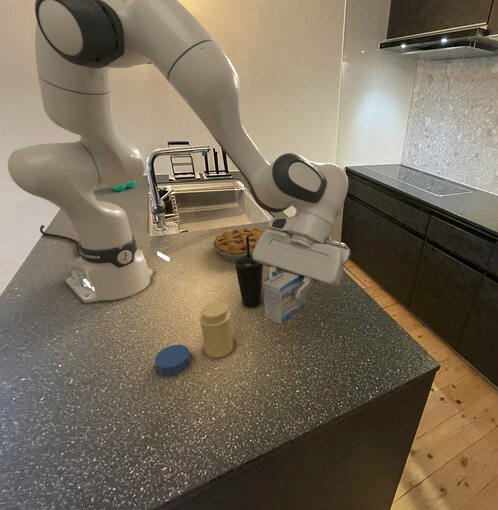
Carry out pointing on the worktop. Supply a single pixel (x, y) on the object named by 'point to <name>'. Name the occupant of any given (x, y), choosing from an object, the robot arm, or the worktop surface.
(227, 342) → the jar
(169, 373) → the lid
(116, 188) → the teal lumpy blob
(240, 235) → the pie
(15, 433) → the worktop surface
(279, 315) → the medicine box
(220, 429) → the worktop surface
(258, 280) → the drinking cup
